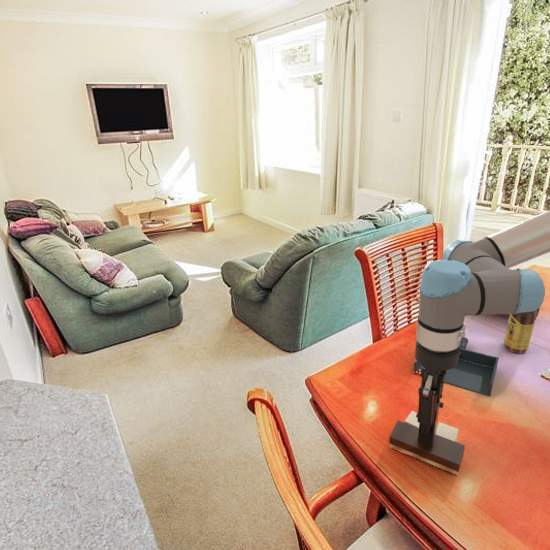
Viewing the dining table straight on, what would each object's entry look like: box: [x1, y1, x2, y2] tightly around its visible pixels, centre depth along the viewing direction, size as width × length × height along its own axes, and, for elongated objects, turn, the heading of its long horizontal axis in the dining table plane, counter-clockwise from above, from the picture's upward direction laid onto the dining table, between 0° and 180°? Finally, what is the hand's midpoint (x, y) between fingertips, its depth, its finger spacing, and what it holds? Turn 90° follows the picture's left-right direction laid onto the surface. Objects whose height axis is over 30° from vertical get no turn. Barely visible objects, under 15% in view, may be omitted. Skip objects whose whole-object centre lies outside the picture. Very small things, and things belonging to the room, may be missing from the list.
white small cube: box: [404, 410, 419, 428], centre depth 86 cm, size 4×4×4 cm
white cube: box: [436, 421, 460, 443], centre depth 82 cm, size 4×4×4 cm
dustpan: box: [413, 336, 499, 397], centre depth 107 cm, size 20×19×4 cm
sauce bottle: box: [503, 310, 537, 354], centre depth 107 cm, size 7×6×20 cm
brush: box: [388, 402, 466, 476], centre depth 78 cm, size 14×6×14 cm, turn 56°
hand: (427, 435), depth 79 cm, fingers closed on brush, 2 cm apart
